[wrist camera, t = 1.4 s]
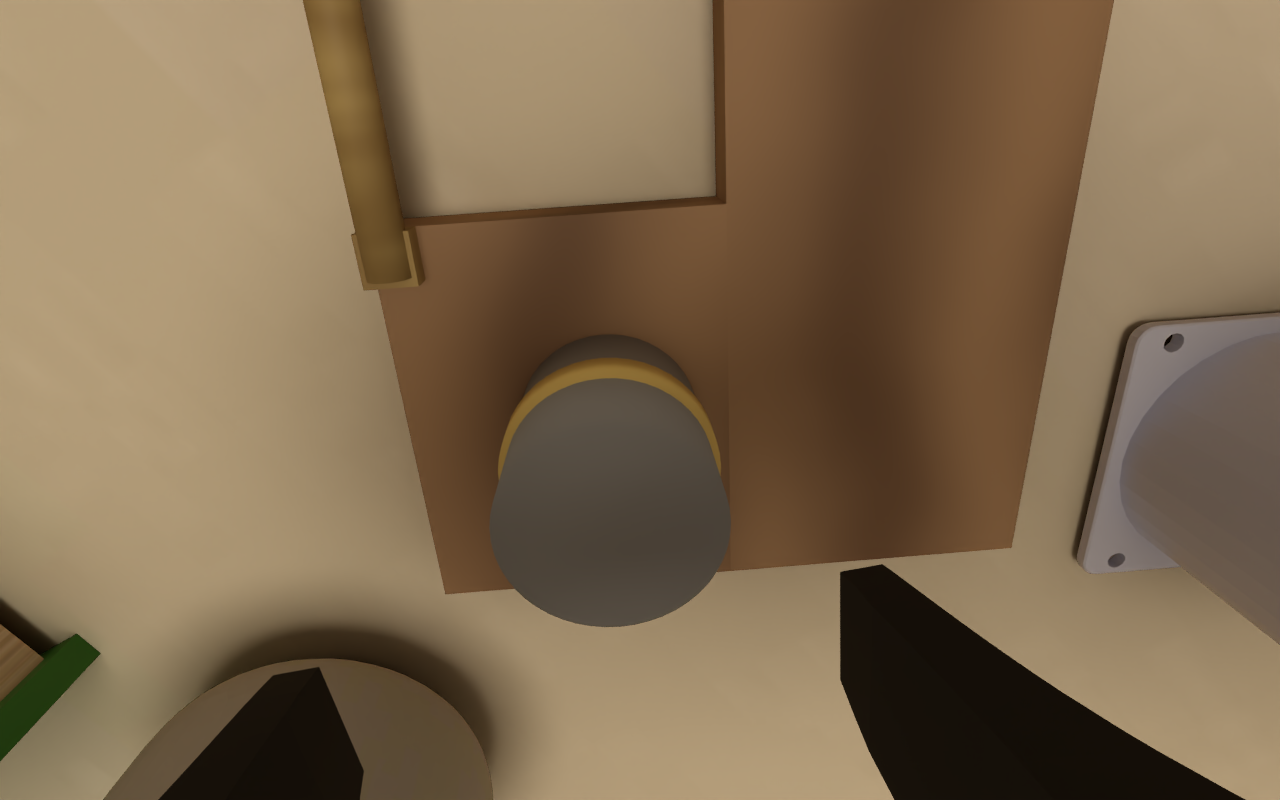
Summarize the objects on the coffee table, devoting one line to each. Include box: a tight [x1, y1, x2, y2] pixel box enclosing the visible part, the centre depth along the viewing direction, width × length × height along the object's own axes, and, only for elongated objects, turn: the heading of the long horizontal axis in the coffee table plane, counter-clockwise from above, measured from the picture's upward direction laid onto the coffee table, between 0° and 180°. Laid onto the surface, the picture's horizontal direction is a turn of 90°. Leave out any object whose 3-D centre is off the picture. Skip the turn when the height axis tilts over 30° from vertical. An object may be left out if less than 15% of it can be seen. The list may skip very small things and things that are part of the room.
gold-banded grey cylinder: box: [489, 334, 731, 627], centre depth 15 cm, size 5×5×5 cm
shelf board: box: [303, 0, 1114, 594], centre depth 15 cm, size 16×22×2 cm
